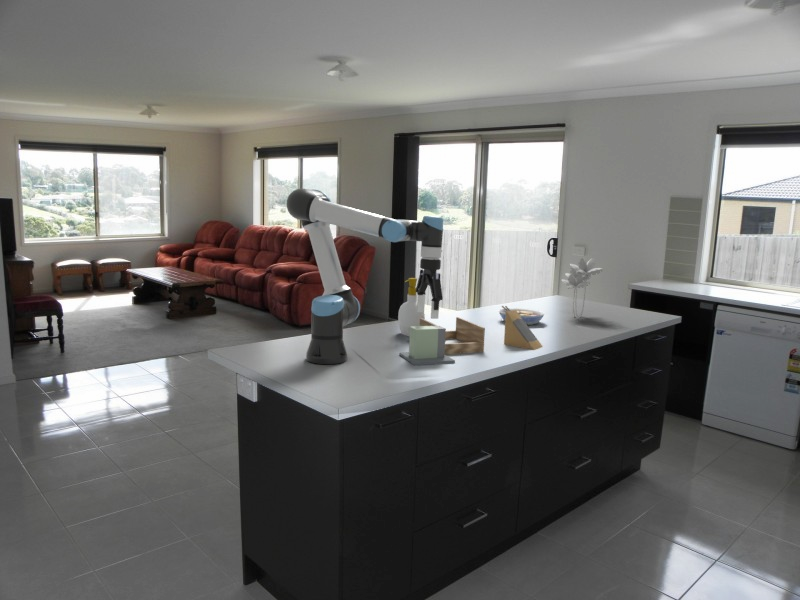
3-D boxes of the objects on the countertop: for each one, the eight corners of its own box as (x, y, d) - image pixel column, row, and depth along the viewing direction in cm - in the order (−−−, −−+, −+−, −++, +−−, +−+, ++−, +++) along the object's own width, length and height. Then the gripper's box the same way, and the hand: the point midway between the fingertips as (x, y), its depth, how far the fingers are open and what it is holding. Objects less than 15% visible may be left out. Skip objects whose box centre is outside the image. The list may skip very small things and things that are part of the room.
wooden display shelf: (442, 354, 233) (443, 329, 232) (418, 341, 256) (419, 318, 255) (483, 352, 239) (484, 327, 238) (456, 339, 262) (457, 317, 261)
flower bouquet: (547, 313, 323) (554, 303, 303) (566, 258, 330) (575, 245, 310) (578, 324, 321) (588, 315, 300) (597, 268, 328) (608, 256, 308)
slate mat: (414, 365, 215) (414, 362, 215) (399, 355, 230) (399, 352, 229) (454, 362, 220) (454, 360, 220) (437, 353, 235) (437, 350, 235)
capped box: (414, 358, 220) (415, 329, 218) (408, 355, 225) (409, 326, 224) (444, 357, 224) (445, 328, 222) (438, 353, 230) (439, 325, 228)
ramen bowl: (548, 331, 288) (550, 315, 287) (501, 330, 289) (502, 313, 287) (538, 322, 313) (539, 307, 312) (494, 321, 313) (495, 305, 312)
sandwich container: (536, 352, 243) (538, 316, 241) (503, 346, 253) (505, 311, 251) (545, 349, 249) (548, 314, 247) (513, 343, 259) (515, 309, 257)
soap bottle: (391, 334, 268) (393, 277, 264) (405, 332, 274) (407, 276, 270) (414, 340, 258) (416, 280, 254) (428, 337, 264) (431, 279, 260)
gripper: (454, 261, 209) (450, 321, 212) (427, 255, 232) (424, 309, 235) (434, 261, 207) (430, 321, 210) (409, 255, 230) (406, 309, 233)
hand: (427, 315), depth 223 cm, fingers open, 13 cm apart
